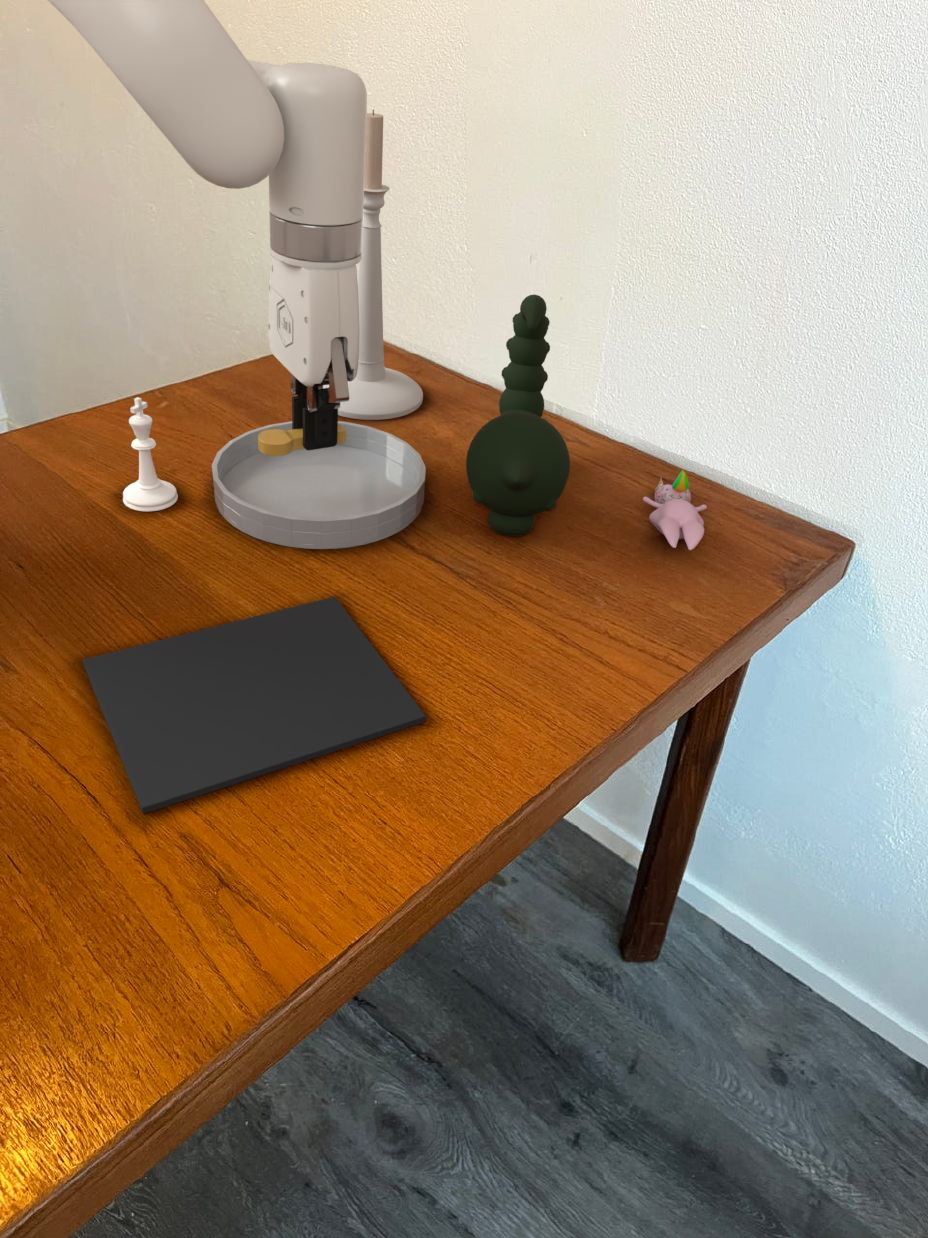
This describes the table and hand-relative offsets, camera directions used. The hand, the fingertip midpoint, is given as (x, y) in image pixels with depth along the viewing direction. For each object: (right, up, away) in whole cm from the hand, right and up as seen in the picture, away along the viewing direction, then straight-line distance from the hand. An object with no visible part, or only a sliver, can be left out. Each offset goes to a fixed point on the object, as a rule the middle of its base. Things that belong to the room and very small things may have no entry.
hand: (314, 439), depth 91 cm
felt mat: (-1, -22, -20) cm, 30 cm away
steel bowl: (0, -4, +4) cm, 6 cm away
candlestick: (+3, +9, +23) cm, 25 cm away
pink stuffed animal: (+34, -8, +3) cm, 35 cm away
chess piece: (-15, -6, +1) cm, 16 cm away
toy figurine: (+19, -5, +6) cm, 20 cm away
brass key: (-1, 0, 0) cm, 2 cm away
